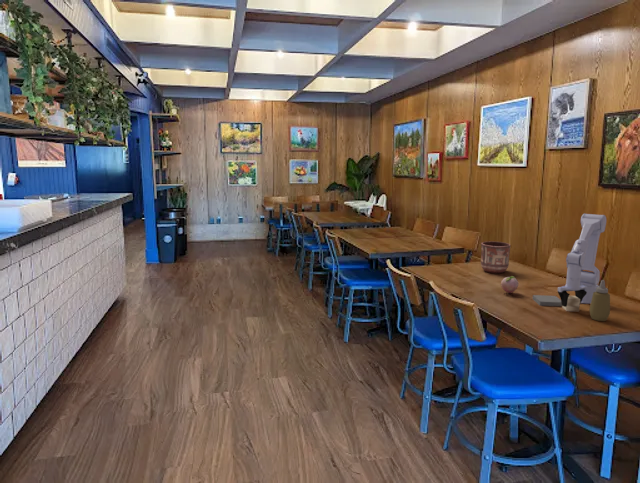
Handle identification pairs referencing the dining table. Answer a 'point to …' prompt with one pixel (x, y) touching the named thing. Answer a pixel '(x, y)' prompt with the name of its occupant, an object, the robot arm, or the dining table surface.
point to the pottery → (495, 256)
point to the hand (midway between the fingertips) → (570, 305)
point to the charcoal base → (547, 300)
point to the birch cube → (572, 304)
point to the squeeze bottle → (600, 303)
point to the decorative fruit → (509, 284)
